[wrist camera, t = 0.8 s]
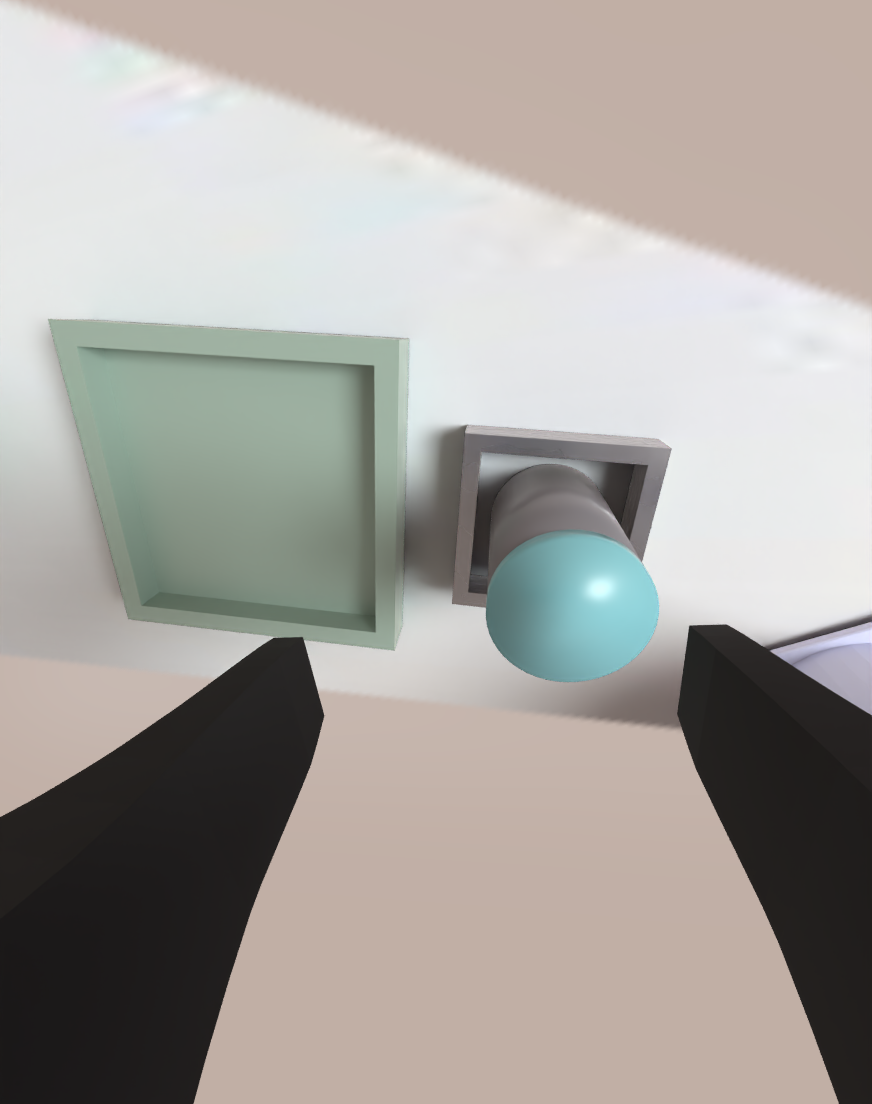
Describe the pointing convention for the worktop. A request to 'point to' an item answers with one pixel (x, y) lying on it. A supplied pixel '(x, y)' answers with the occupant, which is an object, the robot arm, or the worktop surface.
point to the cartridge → (564, 579)
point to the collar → (592, 447)
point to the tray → (247, 474)
